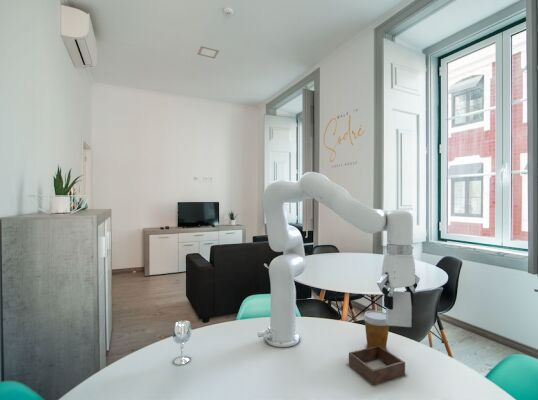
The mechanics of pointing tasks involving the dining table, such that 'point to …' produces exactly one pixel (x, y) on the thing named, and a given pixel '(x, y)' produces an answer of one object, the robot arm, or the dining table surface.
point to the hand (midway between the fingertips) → (398, 306)
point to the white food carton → (400, 310)
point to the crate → (380, 374)
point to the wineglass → (182, 338)
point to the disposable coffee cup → (376, 328)
